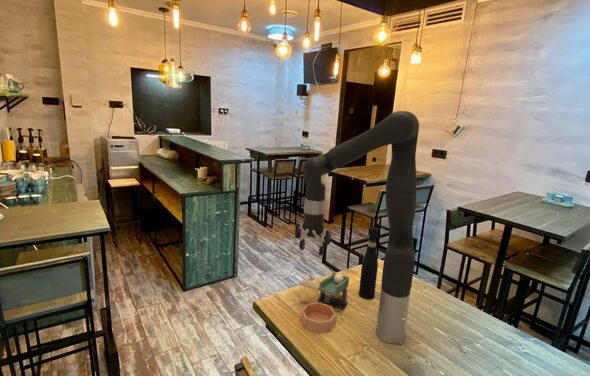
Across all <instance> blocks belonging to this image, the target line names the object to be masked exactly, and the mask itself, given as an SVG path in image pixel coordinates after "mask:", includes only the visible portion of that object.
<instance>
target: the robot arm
mask: <svg viewBox="0 0 590 376" xmlns="http://www.w3.org/2000/svg"><path fill="white" fill-rule="evenodd" d="M419 132H420V123H419V119H418V117H417V116H416V115H415V114H414V113H413V112H410V111H407V110H398V111H394V112H391V113H390V114H389V115H388V116H386V117H385V118H384V119H383V120H381V121H380V122H378V123H377V124H375V125H373V126H372V127H371V128H370V129H367V130H365V132H362V133H361V134H359V135H357V136H355V137H352V138H350V139H348V140H346V141H344V142H341V143H340V144H338V145H336V146H334V147H332V148H330V149H329V150H327V152H325V153H323V154H322V155H319V156H311V157H309V158H307V160H306V161H305V162H304V165H303V178H304V183H305V188H306V189H305V198H304V199H305V200H304V204H303V205H304V206H303V223H302V222H301V221H299V222H297V223H296V224H295V226H294V227H295V229H294V238H295V239H298V241H299V243H298V244H299V245H298V247H299V249H300V251H304V250H305V243H306V240H305V238H307V237H310V238H313V239H315V240H316V241H317V242H318V244H319V246H318V248H319V249H318V256H322V255H323V254H324V253H325V250H326V248H325V247H328V246H329V245H330V244H331V238H332V229H331V228H329V229H328V228H325V227H324V222H325V220H324V219H325V210H326V203H325V202H326V201H325V200H326V185H325V184H324V183H323V182H322V176H325V175H327V174H329V173H331V172H333V171H335V170H337V168H341V167H343V166H345V165H348V164H350V163H352V162H355V161H356V160H358V159H360V158H361V157H363V156H365V155H367V154H368V153H370V152H372V151H374V150H378V149H379V148H383V147H386V146H388V145H389V146H390V145H391V158H390V164H389V168H388V172H387V175H386V183H385V208H386V209H385V210H386V215H387V220H388V227H389V231H388V240H387V241H388V242H387V246H386V247H387V248H386V251H385V254H384V257H383V264H382V265H383V266H382V271H381V273H382V275H381V285H380V287H381V288H380V296H379V304H378V311H377V312H378V313H377V318H376V320H377V321H376V326H375V327H376V329H375V333H376V336H377V338H379V339H380V340H381V341H382V342H385V343H386V344H387V343H388V344H396V345H397V344H399V345H403V342H404V338H405V336H406V330H407V323H408V316H409V304H410V303H409V302H410V296H411V290H412V285H413V284H412V283H413V278H414V272H415V264H416V263H415V261H416V260H415V259H416V254H415V246H414V234H413V230H414V228H413V226H414V220H415V216H416V215H415V214H416V207H417V163H416V154H417V144H418V137H419ZM302 229H303V231H304V232H303V233H302Z"/></svg>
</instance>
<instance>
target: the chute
mask: <svg viewBox="0 0 590 376" xmlns="http://www.w3.org/2000/svg"><path fill="white" fill-rule="evenodd" d="M336 274H337V273H335V272H332V274H331V275H329V276H328V277H326V278H324V279H323V280H321V281H320V282H319V284H317V283H315V282H313V281H312V282H311V281H309V280H305V279H303V280H301V281H299V283H298V285H299V286H302V287H304V288H308V289H311V290H314V291H323V292H325V294H328V295H332V296H335V297H337V296H338V295H339V294H341V293H343V290H344V289H346V290H347V288H348V286H349V280H350V277H349V276H346V275H343V274H341V275H342V276H343V278H344V280H343V282H341V283H340V284H336V283H335V282H334V276H335V275H336Z"/></svg>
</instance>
